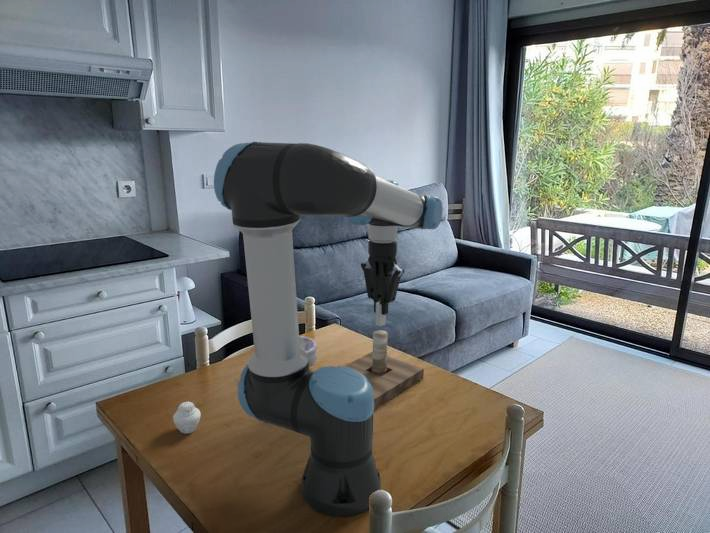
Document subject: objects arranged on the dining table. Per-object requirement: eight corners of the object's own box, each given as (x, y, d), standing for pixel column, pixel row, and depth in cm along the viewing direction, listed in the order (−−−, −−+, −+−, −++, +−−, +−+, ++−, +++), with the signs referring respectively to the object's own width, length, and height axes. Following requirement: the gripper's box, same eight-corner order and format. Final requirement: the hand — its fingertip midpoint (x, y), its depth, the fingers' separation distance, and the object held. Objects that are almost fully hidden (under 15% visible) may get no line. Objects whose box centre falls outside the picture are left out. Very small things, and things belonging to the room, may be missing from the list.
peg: (380, 384, 137) (381, 337, 134) (368, 379, 140) (369, 333, 136) (389, 379, 140) (391, 332, 137) (377, 374, 143) (378, 329, 140)
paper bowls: (259, 364, 149) (258, 339, 147) (307, 355, 155) (306, 331, 153) (273, 386, 136) (272, 359, 134) (325, 376, 142) (325, 350, 140)
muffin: (186, 440, 111) (184, 412, 109) (168, 432, 114) (165, 404, 112) (207, 427, 116) (205, 400, 114) (189, 419, 119) (187, 393, 117)
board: (371, 411, 123) (371, 400, 123) (318, 388, 134) (318, 378, 134) (423, 378, 141) (423, 368, 141) (373, 360, 152) (373, 351, 152)
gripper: (411, 241, 129) (408, 326, 135) (371, 234, 137) (370, 315, 143) (394, 245, 124) (391, 334, 129) (354, 238, 132) (353, 322, 137)
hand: (380, 324), depth 136 cm, fingers closed
